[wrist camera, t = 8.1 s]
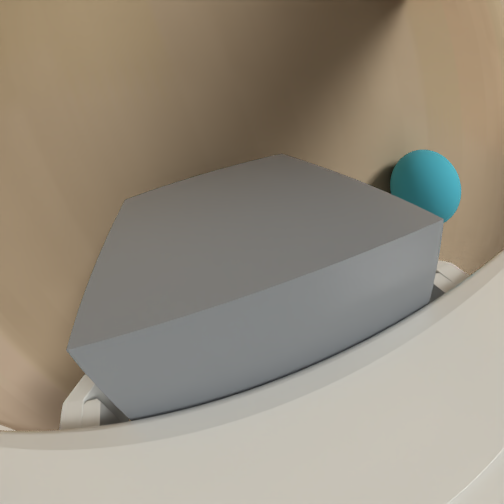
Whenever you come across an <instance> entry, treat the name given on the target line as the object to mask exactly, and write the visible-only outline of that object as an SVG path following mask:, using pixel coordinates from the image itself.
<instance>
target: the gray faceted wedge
mask: <svg viewBox="0 0 504 504" xmlns="http://www.w3.org/2000/svg"><path fill="white" fill-rule="evenodd" d="M443 222H444V219H443V218H441V217H439V216H437V215H435V214H433V213H431V212H429V211H427V210H425V209H422V208H420V207H418V206H416V205H414V204H412V203H410V202H408V201H405V200H403V199H401V198H399V197H396V196H394V195H392V194H390V193H387V192H385V191H383V190H380V189H378V188H375V187H373V186H371V185H368V184H366V183H363V182H361V181H358V180H356V179H353V178H350V177H348V176H345V175H343V174H340V173H337V172H334V171H332V170H329V169H326V168H323V167H321V166H318V165H315V164H312V163H309V162H306V161H303V160H300V159H297V158H294V157H291V156H287V155H284V154H278V155H274V156H270V157H265V158H261V159H257V160H253V161H249V162H245V163H241V164H237V165H234V166H230V167H226V168H222V169H219V170H215V171H212V172H208V173H205V174H201V175H198V176H195V177H191V178H188V179H185V180H182V181H179V182H175V183H172V184H169V185H166V186H163V187H160V188H157V189H154V190H151V191H148V192H145V193H143V194H140V195H137V196H134V197H131V198H129V199H126V200H125V201H124V203H123V205H122V207H121V209H120V211H119V213H118V215H117V217H116V219H115V221H114V223H113V225H112V228H111V230H110V232H109V234H108V236H107V238H106V241H105V243H104V245H103V248H102V250H101V252H100V255H99V257H98V259H97V262H96V264H95V267H94V269H93V272H92V274H91V277H90V279H89V282H88V285H87V287H86V290H85V293H84V296H83V298H82V301H81V304H80V307H79V310H78V313H77V316H76V319H75V322H74V326H73V329H72V332H71V336H70V339H69V342H68V346H67V352H68V353H69V354H70V356H71V357H72V358H73V359H74V360H75V362H76V363H77V364H78V365H79V367H80V368H81V369H82V370H83V371H84V372H85V374H86V375H87V376H88V377H89V378H90V379H91V380H92V381H93V383H94V384H95V385H96V386H97V387H98V388H99V389H100V390H101V391H102V392H103V393H104V394H105V395H106V396H107V397H108V398H109V400H110V401H111V402H112V403H113V404H114V405H115V406H116V407H118V408H119V409H120V410H121V411H122V412H123V413H124V414H125V415H126V416H127V417H128V418H129V419H130V420H131V421H133V420H139V419H144V418H149V417H154V416H158V415H163V414H167V413H172V412H176V411H180V410H184V409H188V408H192V407H195V406H199V405H203V404H206V403H210V402H213V401H216V400H220V399H223V398H226V397H230V396H233V395H236V394H239V393H242V392H245V391H248V390H251V389H254V388H256V387H259V386H262V385H265V384H267V383H270V382H273V381H275V380H278V379H281V378H283V377H286V376H288V375H291V374H293V373H296V372H298V371H301V370H303V369H305V368H308V367H310V366H312V365H315V364H317V363H319V362H321V361H324V360H326V359H328V358H330V357H332V356H335V355H337V354H339V353H341V352H343V351H345V350H347V349H349V348H351V347H353V346H355V345H357V344H359V343H361V342H363V341H365V340H367V339H369V338H371V337H373V336H375V335H377V334H378V333H380V332H382V331H384V330H386V329H388V328H389V327H391V326H393V325H395V324H396V323H398V322H400V321H402V320H403V319H405V318H407V317H408V316H410V315H412V314H413V313H415V312H417V311H418V310H420V309H421V308H423V307H425V306H426V305H428V304H429V301H430V297H431V293H432V288H433V284H434V279H435V274H436V269H437V264H438V258H439V252H440V245H441V238H442V231H443Z"/></svg>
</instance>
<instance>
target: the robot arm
mask: <svg viewBox="0 0 504 504" xmlns="http://www.w3.org/2000/svg"><path fill="white" fill-rule="evenodd" d="M0 504H504V249H503V250H502V251H501V252H499V253H498V254H497V255H496V256H495V257H493V258H492V259H491V260H490V261H488V262H487V263H486V264H485V265H483V266H482V267H481V268H479V269H478V270H477V271H475V272H474V273H473V274H471V275H468V274H467V273H465V272H464V271H463V270H461V269H460V268H458V267H457V266H455V265H454V264H452V263H450V262H445V261H439V260H438V264H437V269H436V274H435V279H434V284H433V288H432V293H431V297H430V301H429V304H428V305H426V306H425V307H423V308H421V309H420V310H418V311H417V312H415V313H413V314H412V315H410V316H408V317H407V318H405V319H403V320H402V321H400V322H398V323H396V324H395V325H393V326H391V327H389V328H388V329H386V330H384V331H382V332H380V333H378V334H377V335H375V336H373V337H371V338H369V339H367V340H365V341H363V342H361V343H359V344H357V345H355V346H353V347H351V348H349V349H347V350H345V351H343V352H341V353H339V354H337V355H335V356H332V357H330V358H328V359H326V360H324V361H321V362H319V363H317V364H315V365H312V366H310V367H308V368H305V369H303V370H301V371H298V372H296V373H293V374H291V375H288V376H286V377H283V378H281V379H278V380H275V381H273V382H270V383H267V384H265V385H262V386H259V387H256V388H254V389H251V390H248V391H245V392H242V393H239V394H236V395H233V396H230V397H226V398H223V399H220V400H216V401H213V402H210V403H206V404H203V405H199V406H195V407H192V408H188V409H184V410H180V411H176V412H172V413H167V414H163V415H158V416H154V417H149V418H144V419H139V420H133V421H129V418H128V417H127V416H126V415H125V414H124V413H123V412H122V411H121V410H120V409H119V408H118V407H116V406H115V405H114V404H113V403H112V402H111V401H110V400H109V398H108V397H107V396H106V395H105V394H104V393H103V392H102V391H101V390H100V389H99V388H98V387H97V386H96V385H95V384H94V383H93V381H92V380H91V379H90V378H89V377H88V376H87V375H86V374H85V375H84V376H83V377H82V379H81V380H80V381H79V382H78V384H77V385H76V386H75V388H74V389H73V390H72V392H71V393H70V394H69V396H68V397H67V398H66V400H65V401H64V403H63V406H62V412H61V420H60V428H59V430H45V431H1V430H0Z"/></svg>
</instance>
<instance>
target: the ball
mask: <svg viewBox="0 0 504 504" xmlns="http://www.w3.org/2000/svg"><path fill="white" fill-rule="evenodd" d="M390 191H391V194H392V195H394V196H396V197H399V198H401V199H403V200H405V201H408V202H410V203H412V204H414V205H416V206H418V207H420V208H422V209H425V210H427V211H429V212H431V213H433V214H435V215H437V216H439V217H441V218H443V219H444V222H446V221H447V220H448V219H450V218H451V217H452V216H453V214H454V213H455V211H456V210H457V208H458V205H459V202H460V198H461V184H460V180H459V177H458V174H457V172H456V170H455V168H454V167H453V165H452V164H451V163H450V162H449V161H448V160H447V159H446V158H445V157H443V156H442V155H440V154H439V153H436V152H434V151H430V150H416V151H412V152H410V153H408V154H406V155H405V156H404V157H402V158H401V159H400V160H399V161H398V163H397V164H396V166H395V167H394V169H393V172H392V175H391V180H390ZM444 222H443V223H444Z"/></svg>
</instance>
